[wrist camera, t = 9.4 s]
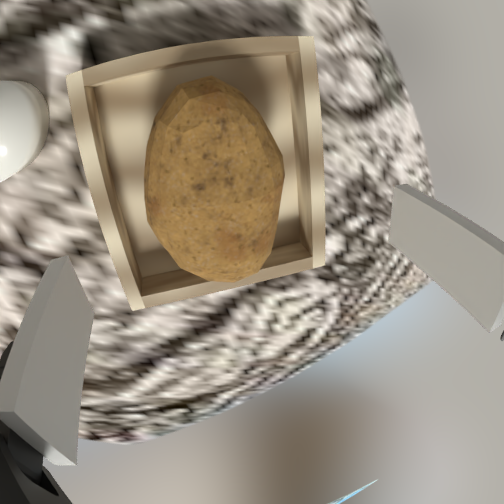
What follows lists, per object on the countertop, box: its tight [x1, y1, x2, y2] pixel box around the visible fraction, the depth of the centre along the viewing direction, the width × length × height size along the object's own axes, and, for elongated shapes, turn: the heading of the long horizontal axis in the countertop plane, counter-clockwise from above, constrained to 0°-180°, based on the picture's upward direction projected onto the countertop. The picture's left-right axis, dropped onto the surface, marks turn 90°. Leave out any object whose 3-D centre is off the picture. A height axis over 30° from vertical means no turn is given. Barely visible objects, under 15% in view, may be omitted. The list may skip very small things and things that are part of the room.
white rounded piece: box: [0, 81, 49, 182], centre depth 17 cm, size 8×8×4 cm
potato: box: [144, 75, 285, 283], centre depth 21 cm, size 10×14×8 cm
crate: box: [66, 36, 325, 311], centre depth 23 cm, size 19×17×4 cm
